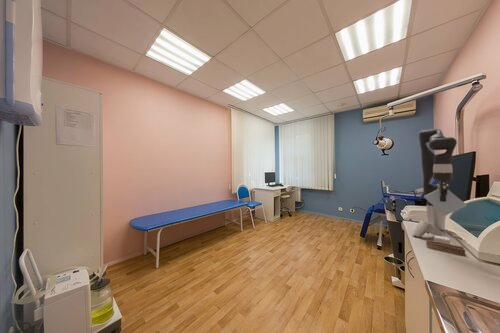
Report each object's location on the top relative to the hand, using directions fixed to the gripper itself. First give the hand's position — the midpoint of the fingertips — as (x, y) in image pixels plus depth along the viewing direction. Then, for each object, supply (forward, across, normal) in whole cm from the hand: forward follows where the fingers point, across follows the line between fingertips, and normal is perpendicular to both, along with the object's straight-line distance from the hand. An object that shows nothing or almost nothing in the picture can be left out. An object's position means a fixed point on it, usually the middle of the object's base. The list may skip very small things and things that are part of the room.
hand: (442, 201), depth 98 cm
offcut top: (+25, -5, 0) cm, 25 cm away
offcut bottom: (+28, -5, 0) cm, 28 cm away
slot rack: (+27, +4, 0) cm, 27 cm away
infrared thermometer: (+29, -18, -1) cm, 34 cm away
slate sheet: (+5, 0, +5) cm, 7 cm away
